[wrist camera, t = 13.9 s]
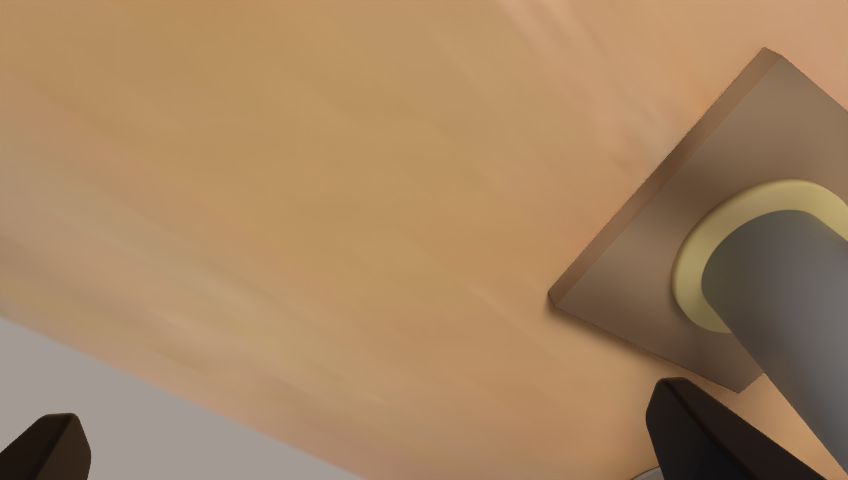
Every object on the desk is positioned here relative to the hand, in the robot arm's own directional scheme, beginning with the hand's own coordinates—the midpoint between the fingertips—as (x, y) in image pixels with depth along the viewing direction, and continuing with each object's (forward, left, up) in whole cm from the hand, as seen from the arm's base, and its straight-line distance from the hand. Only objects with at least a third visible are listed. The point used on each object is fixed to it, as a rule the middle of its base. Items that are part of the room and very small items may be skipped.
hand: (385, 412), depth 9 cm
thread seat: (+3, -17, -13) cm, 22 cm away
